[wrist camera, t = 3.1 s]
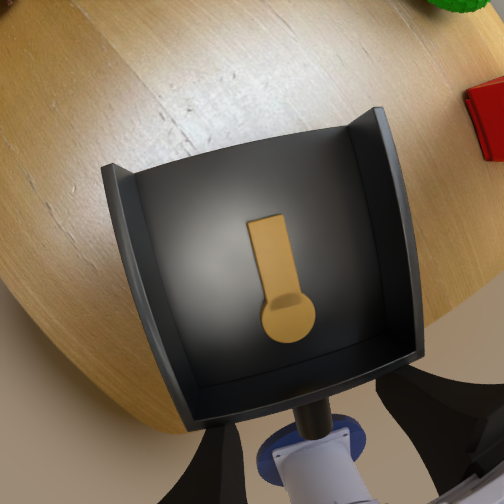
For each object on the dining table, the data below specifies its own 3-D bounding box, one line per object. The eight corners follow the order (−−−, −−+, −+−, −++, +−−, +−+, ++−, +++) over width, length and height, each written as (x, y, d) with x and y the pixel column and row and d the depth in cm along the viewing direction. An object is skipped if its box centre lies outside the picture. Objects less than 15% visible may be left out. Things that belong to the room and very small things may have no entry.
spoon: (316, 329, 13) (320, 334, 12) (266, 344, 12) (268, 350, 12) (289, 211, 12) (293, 211, 11) (235, 225, 12) (236, 225, 11)
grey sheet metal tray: (394, 375, 14) (423, 402, 11) (209, 433, 13) (208, 473, 10) (351, 126, 12) (383, 106, 9) (126, 178, 12) (99, 167, 9)
